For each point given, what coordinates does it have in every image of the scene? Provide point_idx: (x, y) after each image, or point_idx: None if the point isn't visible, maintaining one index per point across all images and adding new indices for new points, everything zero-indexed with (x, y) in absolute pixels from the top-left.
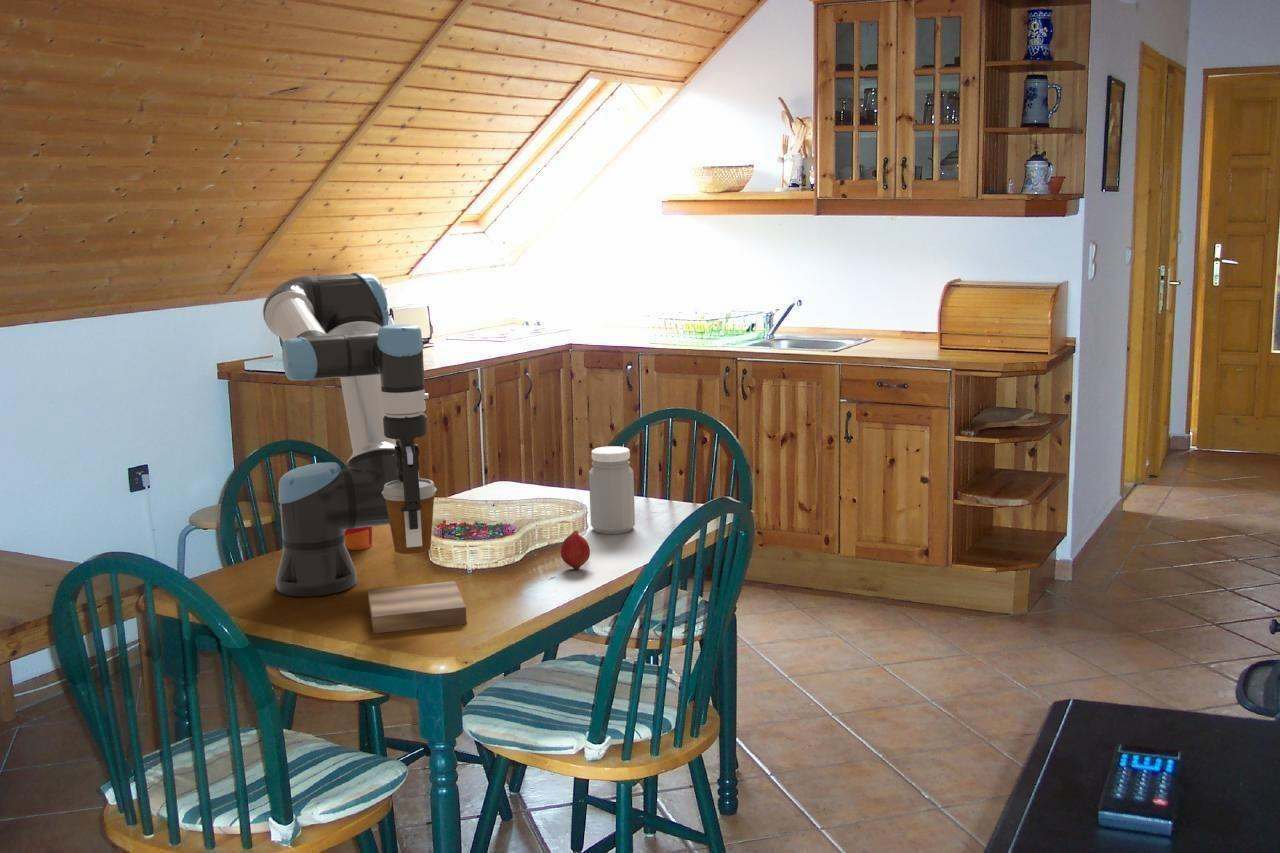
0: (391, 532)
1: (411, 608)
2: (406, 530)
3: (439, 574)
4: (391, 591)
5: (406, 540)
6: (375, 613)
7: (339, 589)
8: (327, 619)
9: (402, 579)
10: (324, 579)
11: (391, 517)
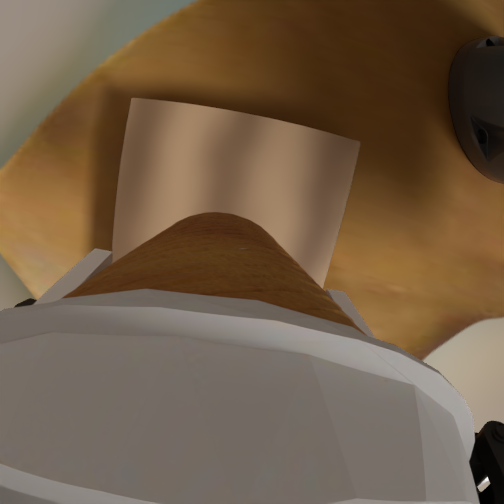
0: (233, 225)
1: (147, 198)
2: (58, 284)
3: (437, 323)
4: (314, 190)
5: (81, 260)
6: (152, 107)
7: (456, 123)
8: (297, 36)
9: (456, 258)
10: (470, 91)
11: (139, 251)
